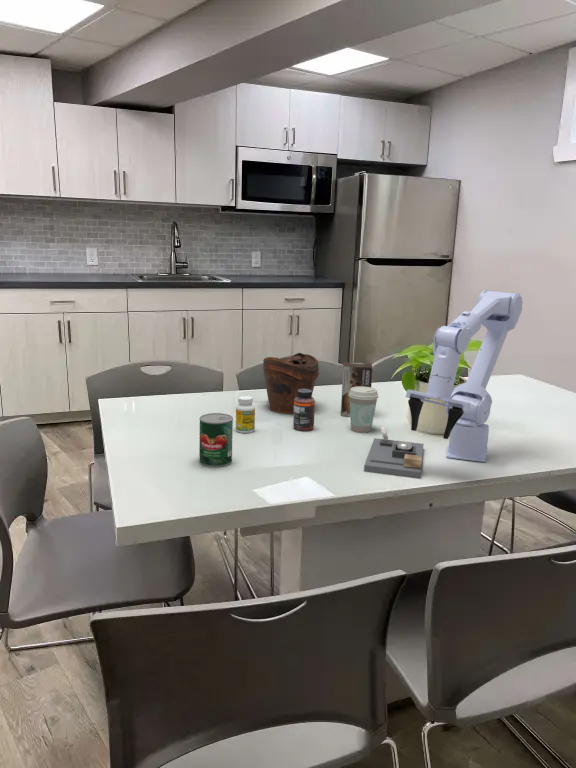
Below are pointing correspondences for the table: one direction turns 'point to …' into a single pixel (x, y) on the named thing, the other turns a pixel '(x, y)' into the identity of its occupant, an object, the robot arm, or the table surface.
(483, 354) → the robot arm
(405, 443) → the steel push button
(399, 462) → the control panel
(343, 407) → the coffee box
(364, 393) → the coffee cup
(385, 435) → the off-white toggle lever
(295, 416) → the supplement bottle
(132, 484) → the table surface
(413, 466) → the block
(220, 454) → the canned tomato
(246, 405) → the supplement bottle
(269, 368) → the brown leather bucket
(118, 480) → the table surface
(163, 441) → the table surface
